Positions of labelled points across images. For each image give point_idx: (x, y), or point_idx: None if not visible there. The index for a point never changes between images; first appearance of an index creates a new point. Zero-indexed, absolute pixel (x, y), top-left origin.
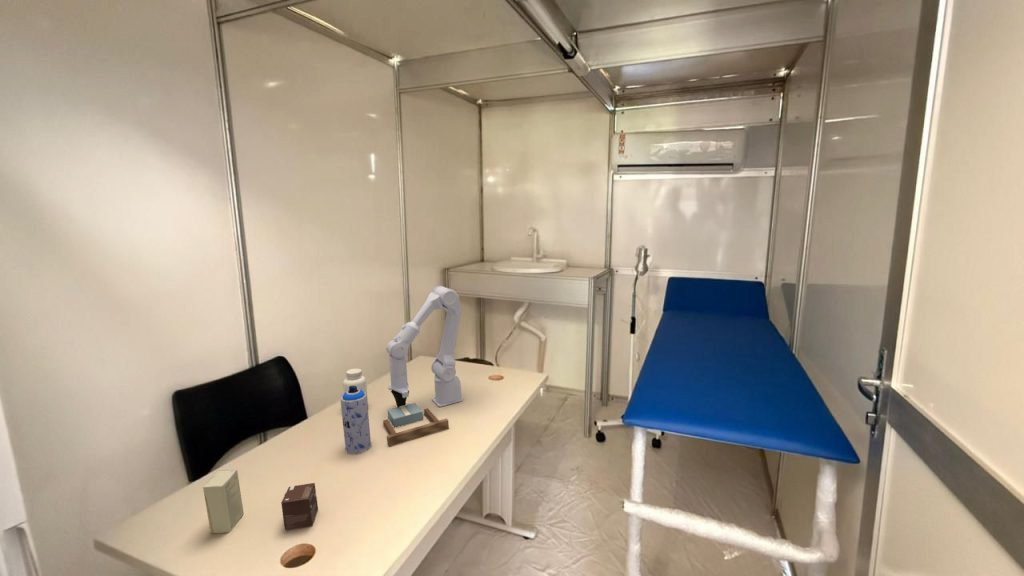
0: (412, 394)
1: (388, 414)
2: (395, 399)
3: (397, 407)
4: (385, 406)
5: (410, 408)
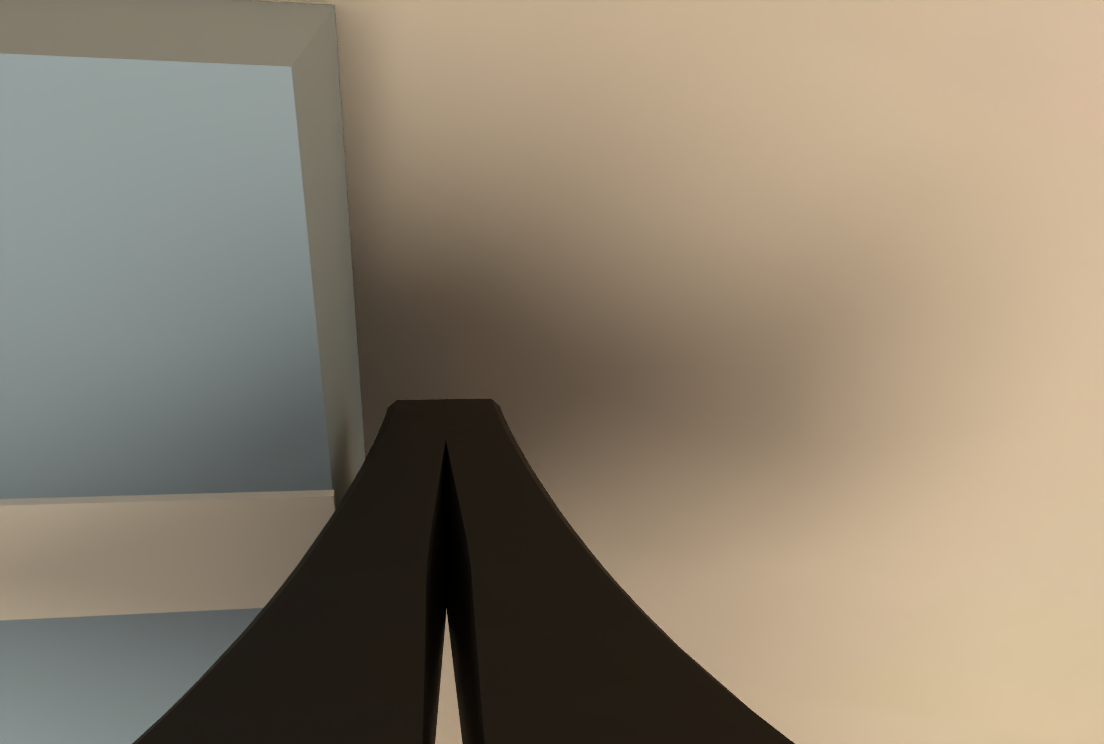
0: (1038, 692)
1: (206, 29)
2: (471, 613)
3: (304, 434)
4: (1069, 167)
5: (36, 693)
